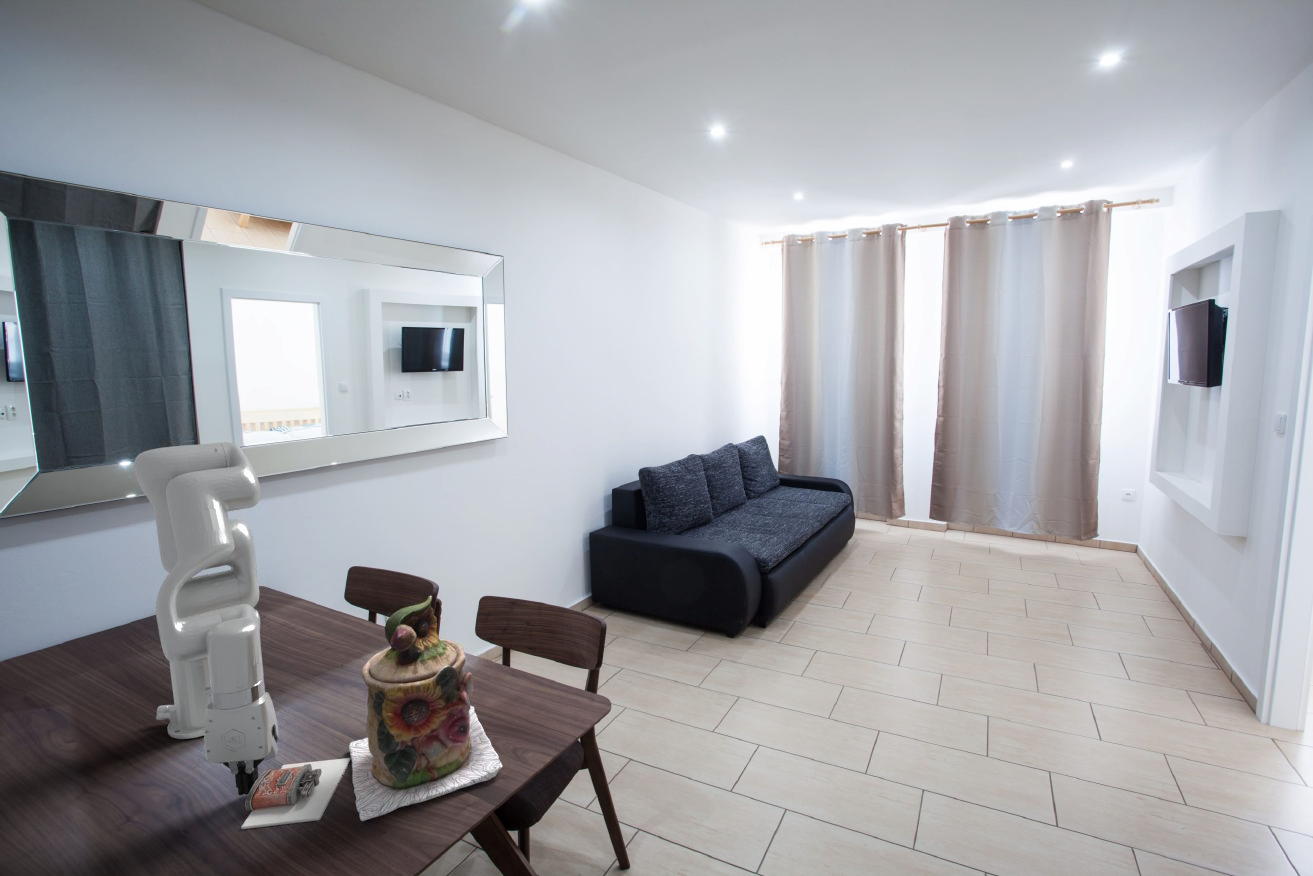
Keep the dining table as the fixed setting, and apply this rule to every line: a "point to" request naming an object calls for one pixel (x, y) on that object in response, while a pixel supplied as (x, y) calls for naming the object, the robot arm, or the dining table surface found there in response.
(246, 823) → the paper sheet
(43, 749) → the dining table surface
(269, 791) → the lighter
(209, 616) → the robot arm
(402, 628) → the cookie jar
